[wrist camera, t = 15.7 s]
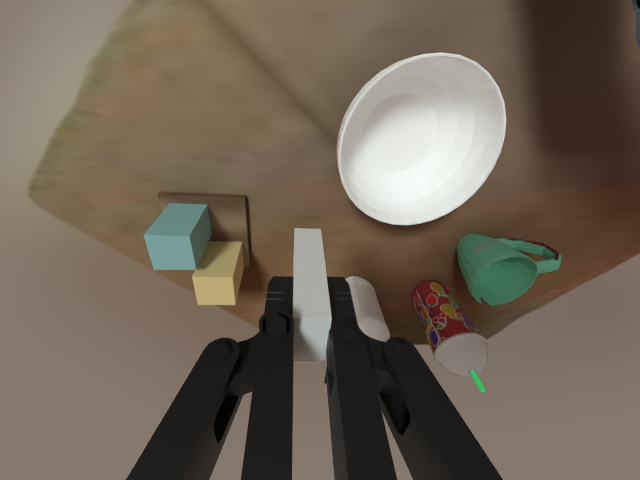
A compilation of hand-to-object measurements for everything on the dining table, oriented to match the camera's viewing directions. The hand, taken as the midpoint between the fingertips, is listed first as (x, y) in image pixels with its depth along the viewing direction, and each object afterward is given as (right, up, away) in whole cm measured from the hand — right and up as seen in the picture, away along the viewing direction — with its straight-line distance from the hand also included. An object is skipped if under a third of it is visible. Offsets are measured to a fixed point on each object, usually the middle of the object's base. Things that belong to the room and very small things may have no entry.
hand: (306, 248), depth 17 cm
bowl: (+11, +15, +22) cm, 29 cm away
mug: (+30, 0, +34) cm, 45 cm away
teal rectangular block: (-18, +4, +25) cm, 32 cm away
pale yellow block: (-14, -2, +29) cm, 33 cm away
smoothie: (+22, -10, +39) cm, 46 cm away
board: (-17, +2, +28) cm, 33 cm away
